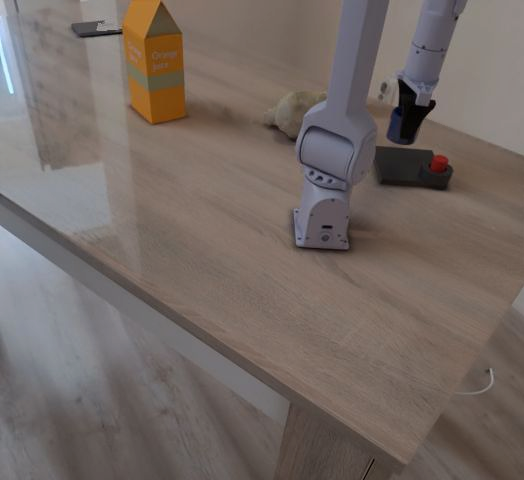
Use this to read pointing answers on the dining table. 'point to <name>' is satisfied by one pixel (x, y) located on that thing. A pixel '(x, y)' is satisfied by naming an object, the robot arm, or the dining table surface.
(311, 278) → the dining table surface
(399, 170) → the scale
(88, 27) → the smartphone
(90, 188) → the dining table surface
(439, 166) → the button
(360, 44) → the robot arm
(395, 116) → the blue plastic cup
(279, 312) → the dining table surface
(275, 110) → the ginger root
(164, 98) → the orange juice
